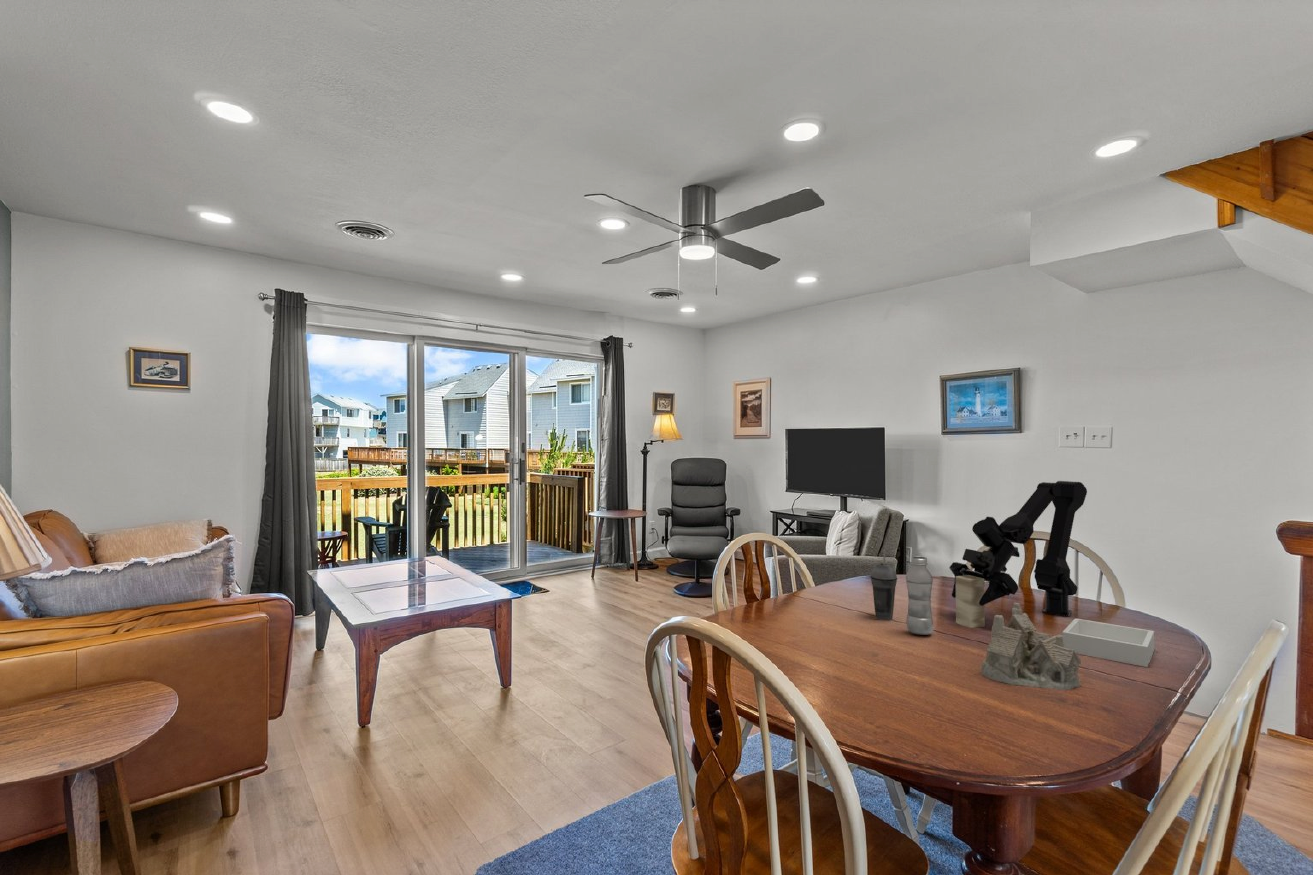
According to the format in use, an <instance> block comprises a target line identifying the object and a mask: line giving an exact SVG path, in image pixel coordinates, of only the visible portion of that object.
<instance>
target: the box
mask: <svg viewBox="0 0 1313 875" xmlns="http://www.w3.org/2000/svg"><path fill="white" fill-rule="evenodd" d="M1062 637H1063V643H1064V648H1068V649H1072V650H1074V651H1075V653H1076V654H1077V655H1081V656H1089V657H1092V658H1093V657H1094V658H1098V659H1103V660H1108V661H1114V662H1119V663H1124V664H1128V665H1134V666H1139V667H1145V668H1148V667H1149V665H1150V662H1151V660H1152V657H1153V654H1154V653H1155V630H1151V629H1144V628H1138V627H1137V628H1136V627H1131V626H1125V625H1118V624H1112V623H1107V622H1106V623H1105V622H1101V621H1094V620H1088V619H1081V618H1074V619H1072V620H1071V622H1070V623H1069V625H1068V626H1066V627H1065V628H1064V629H1063V631H1062Z"/></svg>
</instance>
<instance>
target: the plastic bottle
mask: <svg viewBox="0 0 1313 875" xmlns="http://www.w3.org/2000/svg"><path fill="white" fill-rule="evenodd" d="M910 564H911V565H912V566H911V567H910V569H909V570H908V571H907V573H906V575H905V582H906V587H907V588H906V589H907V597H908V606H907V615H906V622H905V623H906V624H905V625H906V628H907V630H908V631H909V632H910V633H911V634H915V635H919V636H923V635H924V636H926V635H931V634H932V633H933V632H934V627H935V625H934V624H935V623H934V618H933V612H932V603H931V602H932V600H931V599H932V590H933V589H932V588H933V582H934V580H933V576H932V573H931V572H930V571H929V569H928V568H927V566H928V558H927V557H925V556H911V562H910Z"/></svg>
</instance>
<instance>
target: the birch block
mask: <svg viewBox="0 0 1313 875" xmlns="http://www.w3.org/2000/svg"><path fill="white" fill-rule="evenodd" d="M984 593H985V581H984V579H983V578H979V577H975V576H971V575H965V576H956V597H955V624H957V625H960V626H963V627H966V628H969V629H975V628H981V627H985V626H986V625H985V624H986V620H985V615H986V613H985V612H986V611H985V608H986V606H985V605H986V604H985V605H983V606H980V604H979V601H980V599H981V598H982V596H983V594H984Z"/></svg>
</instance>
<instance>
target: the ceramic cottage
mask: <svg viewBox="0 0 1313 875" xmlns="http://www.w3.org/2000/svg"><path fill="white" fill-rule="evenodd" d="M1005 625H1006V626H1005ZM990 635H991V637H990V642H989V644H988V646H987V648H986V654H985V655H986V657H985V659H984V660H983V661H982V664H981V669H980V674H981V675H982V676H984V677H985V678H988V679H990V680H993V681H997V682H999V683H1005V684H1007V685H1013V686H1020V687H1021V686H1023V687H1029V688H1030V687H1031V688H1041V689H1049V690H1056V691H1057V690H1058V691H1069V690H1073V689H1075V688H1079V687H1080V686H1081V680H1080V678H1079V677H1078V672H1079V666H1080V665H1081V658H1080V656H1079V655H1078V654H1077V653H1075V651H1074V650H1072V649H1068V648H1064V643H1063V634H1057V635H1053V636H1050V635H1049V634H1047V633H1044V632H1043V633H1042V632H1038V631H1037V628H1036V626H1034V624H1033V622H1032V621H1031V619H1030V618H1029V615H1028V614H1027V613H1025V612H1023V610H1022V607H1021V604H1020V602H1013V607H1012V608H1011V618H1010V619H1009V621H1008V623H1007V624H1005V620H1004V616H1003V615H1002V614H1000V615H999V614H995V615H994V616H993V624H992V627H991V634H990Z"/></svg>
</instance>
